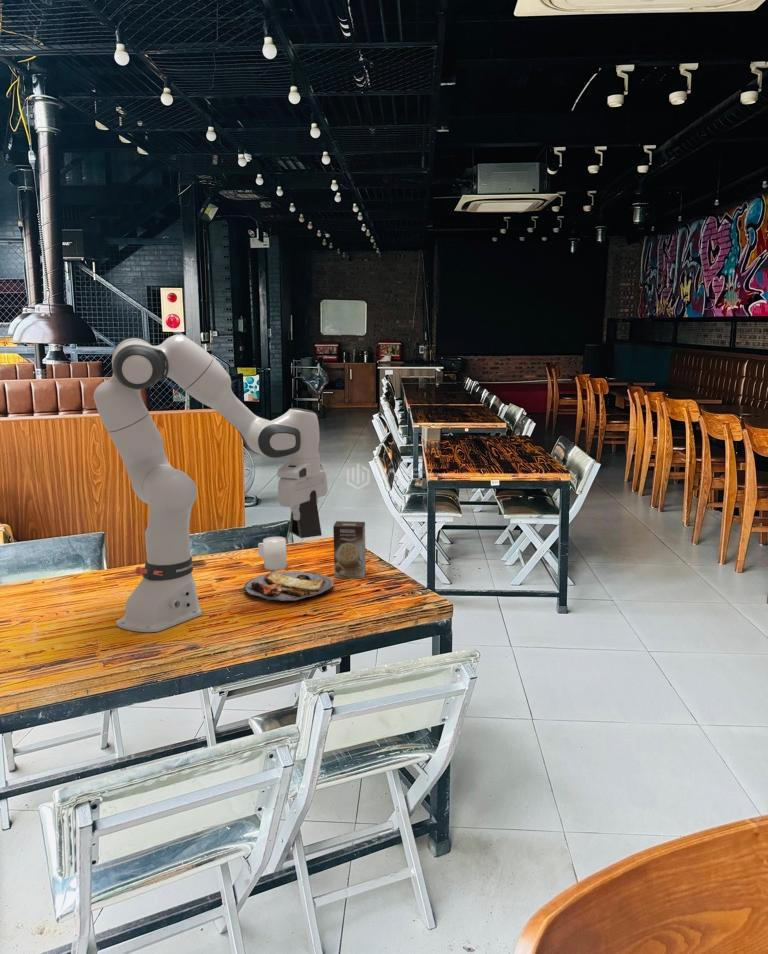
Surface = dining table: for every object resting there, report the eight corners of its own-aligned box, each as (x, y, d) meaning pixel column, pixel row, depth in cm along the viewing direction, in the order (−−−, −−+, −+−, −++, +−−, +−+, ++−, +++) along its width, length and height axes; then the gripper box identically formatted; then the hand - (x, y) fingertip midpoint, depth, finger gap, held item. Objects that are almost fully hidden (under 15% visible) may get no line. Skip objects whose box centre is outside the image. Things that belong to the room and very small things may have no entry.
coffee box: (333, 578, 227) (331, 526, 224) (337, 571, 233) (335, 520, 230) (364, 578, 226) (362, 526, 223) (366, 572, 232) (365, 521, 229)
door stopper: (321, 535, 207) (321, 492, 205) (301, 538, 205) (300, 494, 203) (308, 529, 215) (308, 487, 213) (288, 531, 212) (288, 489, 210)
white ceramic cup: (279, 571, 235) (277, 543, 233) (254, 568, 239) (252, 540, 237) (291, 565, 241) (289, 537, 240) (266, 562, 245) (265, 535, 243)
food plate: (228, 596, 212) (227, 584, 212) (276, 573, 233) (276, 562, 232) (303, 611, 201) (302, 598, 201) (347, 586, 222) (347, 575, 221)
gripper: (313, 461, 217) (313, 509, 220) (273, 472, 199) (274, 523, 201) (332, 463, 215) (333, 511, 217) (293, 473, 197) (294, 525, 199)
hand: (304, 517), depth 209 cm, fingers closed on door stopper, 6 cm apart
